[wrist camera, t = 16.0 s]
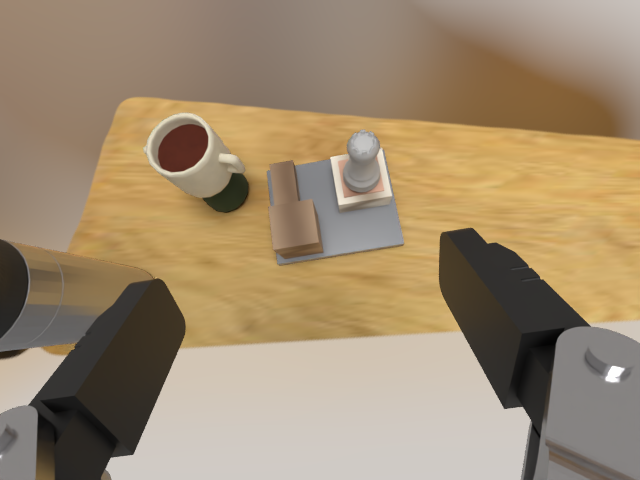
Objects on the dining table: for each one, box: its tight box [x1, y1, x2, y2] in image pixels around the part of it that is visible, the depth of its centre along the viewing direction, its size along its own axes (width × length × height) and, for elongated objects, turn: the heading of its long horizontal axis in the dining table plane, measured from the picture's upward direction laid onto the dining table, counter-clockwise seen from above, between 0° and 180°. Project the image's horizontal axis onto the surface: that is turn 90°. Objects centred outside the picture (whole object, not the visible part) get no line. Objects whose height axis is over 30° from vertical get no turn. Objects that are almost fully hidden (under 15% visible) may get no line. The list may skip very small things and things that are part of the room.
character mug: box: [143, 113, 248, 212], centre depth 38 cm, size 11×7×13 cm, turn 81°
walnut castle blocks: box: [268, 160, 324, 259], centre depth 38 cm, size 5×12×6 cm, turn 8°
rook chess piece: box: [343, 130, 380, 192], centre depth 34 cm, size 4×4×8 cm
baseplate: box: [267, 150, 404, 266], centre depth 41 cm, size 16×13×1 cm
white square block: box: [330, 148, 392, 213], centre depth 39 cm, size 6×6×3 cm
